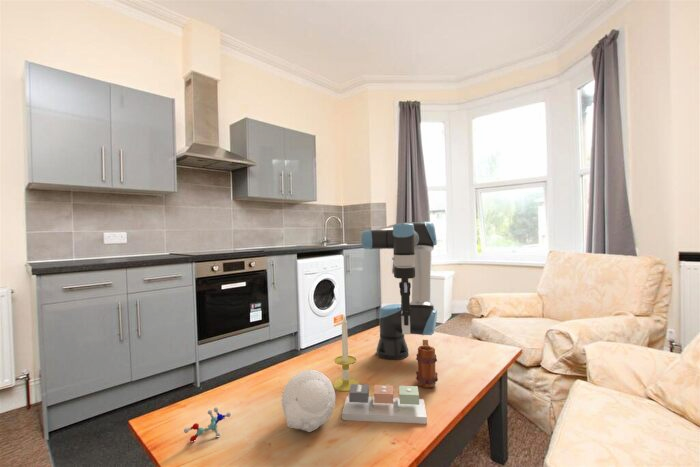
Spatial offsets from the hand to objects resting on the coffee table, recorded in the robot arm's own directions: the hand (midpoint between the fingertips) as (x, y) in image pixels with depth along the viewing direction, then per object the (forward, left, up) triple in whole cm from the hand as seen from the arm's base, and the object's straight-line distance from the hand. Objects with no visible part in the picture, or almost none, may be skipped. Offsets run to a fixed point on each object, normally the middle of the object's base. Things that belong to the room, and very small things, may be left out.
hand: (405, 331), depth 118 cm
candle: (-6, -23, -23) cm, 33 cm away
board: (+12, -8, -23) cm, 27 cm away
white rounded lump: (+21, -30, -23) cm, 43 cm away
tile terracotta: (+12, -8, -18) cm, 23 cm away
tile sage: (+12, 0, -18) cm, 22 cm away
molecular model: (+29, -58, -23) cm, 69 cm away
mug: (-11, +8, -23) cm, 27 cm away
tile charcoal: (+12, -16, -18) cm, 27 cm away
